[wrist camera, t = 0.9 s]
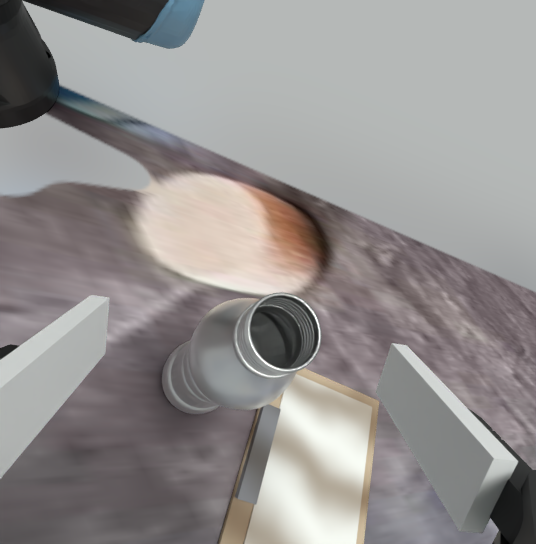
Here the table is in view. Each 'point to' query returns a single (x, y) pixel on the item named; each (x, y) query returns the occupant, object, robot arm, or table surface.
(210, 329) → the plastic bottle
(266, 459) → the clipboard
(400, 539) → the table surface
